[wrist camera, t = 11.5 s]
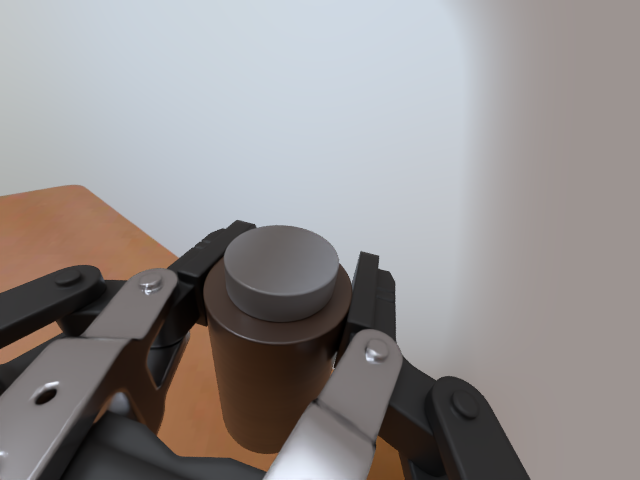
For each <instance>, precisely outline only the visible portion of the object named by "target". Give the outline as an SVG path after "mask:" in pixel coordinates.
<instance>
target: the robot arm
mask: <svg viewBox="0 0 640 480" xmlns="http://www.w3.org/2000/svg"><path fill="white" fill-rule="evenodd" d="M255 228H256V225H255V224H251V223H247V222H244V221H240V220H236V221H235V222H234V223H232V224H231V225H230V226H229V227H228V228H226V229H220V230H217V231H215V232H212V233H210V234H209V235H208V236H206V237H205V238H204V239H203V240H202V242H199V243H198V244H196V245H195V247H194V248H191V249H190V250H189V251H188V252H186V253H185V254H184V255H183V256H181V257H180V258H179V259H178V260H177V261H175V262H174V263H173V264H172V265H170V266H169V267H168V268H167V269H164V268H155V269H149V270H145V271H142V272H140V273H138V274H136V275H134V276H133V277H131V278H130V279H129V280H104V279H103V277H102V274H101V272H100V270H99V269H98V268H96V267H94V266H90V265H78V266H72V267H67V268H64V269H61V270H58V271H56V272H53V273H51V274H48V275H46V276H43V277H40V278H38V279H35V280H33V281H30V282H28V283H25V284H23V285H20V286H18V287H15V288H13V289H10V290H8V291H5V292H2V293H0V349H1V348H3V347H5V346H7V345H9V344H11V343H13V342H15V341H17V340H19V339H21V338H23V337H25V336H27V335H29V334H31V333H33V332H35V331H37V330H39V329H41V328H43V327H45V326H47V325H48V324H50V323H52V322H54V321H56V322H57V324H58V325H59V327H60V328H61V330H62V331H63V333H61V334H59V335H57V336H55V337H54V338H52V339H50V340H48V341H46V342H44V343H43V344H41V345H39V346H37V347H35V348H33V349H32V350H30V351H28V352H26V353H24V354H22V355H21V356H19V357H17V358H15V359H13V360H11V361H9V362H7V363H5V364H1V365H0V480H366V479H367V476H368V473H369V470H370V467H371V464H372V461H373V457H374V454H375V450H376V439H377V436H380V437H381V438H382V439H383V440H385V441H386V442H387V443H389V444H390V445H391V446H392V447H394V448H395V449H396V450H398V452H399V456H400V460H401V464H402V469H403V473H404V477H405V480H530V478H529V476H528V474H527V473H526V470H525V469H524V467H523V465H522V463H521V462H520V459H519V458H518V456H517V454H516V452H515V451H514V449H513V447H512V445H511V443H510V441H509V439H508V438H507V436H506V434H505V432H504V430H503V428H502V427H501V425H500V423H499V421H498V419H497V417H496V416H495V414H494V412H493V410H492V409H491V407H490V405H489V404H488V402H487V400H486V399H485V398H484V396H483V395H482V394H481V393H480V392H479V391H478V390H477V389H476V388H475V387H473V386H472V385H471V384H469V383H467V382H466V381H464V380H462V379H459V378H456V377H452V376H445V377H441V378H440V379H438V380H437V381H436V380H435V379H433V378H431V377H430V376H428V375H427V374H425V373H423V372H422V371H420V370H418V369H417V368H415V367H414V366H413V365H411V364H410V363H409V362H408V361H407V360H406V359H405V358H404V357H403V355H402V353H401V350H400V348H399V346H398V345H397V342H396V322H395V321H396V317H395V316H396V312H395V281H394V279H393V277H392V275H391V273H390V272H389V271H384V270H380V269H378V263H379V256H378V255H374V254H370V253H366V252H362V251H361V252H360V255H359V259H358V263H357V266H356V270H355V273H354V277H353V281H352V291H353V293H352V298H351V303H350V308H349V312H348V315H347V319H346V322H345V326H344V329H343V333H342V336H341V339H340V343H339V346H338V350H337V354H336V359H335V364H334V368H335V369H334V371H333V372H332V374H331V376H330V377H329V379H328V381H327V383H326V384H325V386H324V388H323V389H322V391H321V393H320V394H319V396H318V397H317V398H316V399H313V400H312V401H311V403H310V404H309V405H308V407H307V408H306V410H305V411H304V413H303V414H302V416H301V418H300V419H299V421H298V423H297V424H296V426H295V428H294V429H293V431H292V432H291V434H290V436H289V437H288V439H287V441H286V442H285V444H284V445H283V447H282V449H281V450H280V452H279V454H278V455H277V457H276V459H275V460H274V462H273V463H272V465H271V467H270V468H269V470H268V472H265V471H262V470H260V469H257V468H255V467H252V466H250V465H247V464H244V463H242V462H239V461H237V460H234V459H232V458H214V457H182V456H178V455H176V454H175V453H173V452H172V451H171V450H170V449H169V448H168V447H167V446H166V445H165V444H164V443H163V442H162V441H161V440H160V439H159V438H158V437H157V434H158V431H159V429H160V426H161V423H162V420H163V416H164V411H165V399H166V394H167V391H168V389H169V386H170V384H171V382H172V379H173V377H174V374H175V372H176V370H177V367H178V365H179V363H180V360H181V358H182V355H183V353H184V351H185V348H186V346H187V344H188V341H189V339H190V329H191V328H192V327H193V325H194V324H195V323H196V324H200V325H203V326H206V327H207V326H208V323H207V317H206V310H205V304H204V298H203V288H204V283H205V280H206V278H207V275H208V273H209V272H210V270H211V268H212V267H213V266H214V265H215V264H216V262H217V261H219V260H220V259H221V258H222V257H223V256H224V254H225V251H226V249H227V247H228V246H229V244H230V243H231V242H232V241H233V240H234V239H235V238H236V237H238V236H239V235H241V234H243V233H245V232H247V231H249V230H252V229H255Z"/></svg>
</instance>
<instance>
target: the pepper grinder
mask: <svg viewBox="0 0 640 480" xmlns="http://www.w3.org/2000/svg"><path fill="white" fill-rule="evenodd" d="M352 293H353V291H352V285H351V281H350V278H349V276H348V274H347V272H346V271H345V269H344V268H343V267H342V266H341V264H340V263H339V258H338V255H337V252H336V250H335V249H334V247H333V246H332V245H331V244H330V243H329V242H328V241H327V240H326V239H324V238H323V237H321V236H320V235H318V234H316V233H313V232H311V231H309V230H306V229H302V228H298V227H293V226H283V225H275V226H264V227H259V228H255V229H252V230H249V231H247V232H245V233H243V234H241V235H239V236H238V237H236V238H235V239H234V240H233V241H232V242H231V243H230V244H229V246H228V247H227V249H226V251H225V254H224V256H223V257H222V258H221V259H220V260H219V261H217V262H216V264H215V265H214V266H213V267H212V268H211V270H210V272H209V273H208V275H207V278H206V280H205V283H204V288H203V298H204V304H205V310H206V317H207V323H208V329H209V335H210V341H211V347H212V353H213V360H214V366H215V372H216V378H217V384H218V390H219V396H220V402H221V409H222V414H223V420H224V423H225V426H226V428H227V430H228V432H229V433H230V435H231V436H232V438H233V439H234V440H235V441H236V442H237V443H238V444H240V445H241V446H242V447H244V448H246V449H248V450H250V451H252V452H256V453H261V454H274V453H278V452H280V450H281V449H282V447H283V445H284V444H285V442H286V441H287V439H288V437H289V436H290V434H291V432H292V431H293V429H294V428H295V426H296V424H297V423H298V421H299V419H300V418H301V416H302V414H303V413H304V411H305V410H306V408H307V407H308V405H309V404H310V403H311V401H312V400H313V399H316V398H317V397H318V396H319V394H320V393H321V391H322V389H323V388H324V386H325V384H326V383H327V381H328V379H329V377H330V374H331V371H332V367H333V364H334V361H335V357H336V354H337V350H338V346H339V343H340V339H341V336H342V333H343V329H344V326H345V322H346V319H347V315H348V312H349V308H350V303H351V298H352Z"/></svg>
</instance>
